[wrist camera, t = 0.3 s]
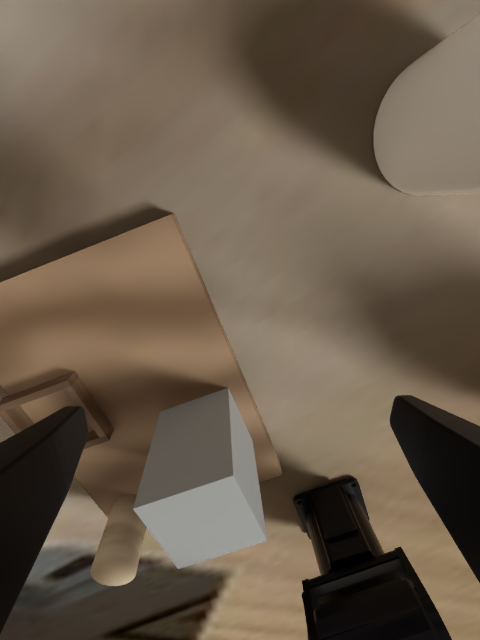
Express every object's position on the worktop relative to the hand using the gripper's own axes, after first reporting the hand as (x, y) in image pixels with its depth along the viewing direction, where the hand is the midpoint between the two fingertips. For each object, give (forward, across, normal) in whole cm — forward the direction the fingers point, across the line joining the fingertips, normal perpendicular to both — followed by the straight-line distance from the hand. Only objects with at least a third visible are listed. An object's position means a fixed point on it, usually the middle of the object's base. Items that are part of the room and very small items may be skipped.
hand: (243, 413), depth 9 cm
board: (+14, +7, +8) cm, 17 cm away
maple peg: (+12, +9, +19) cm, 24 cm away
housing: (+12, +2, +11) cm, 16 cm away
